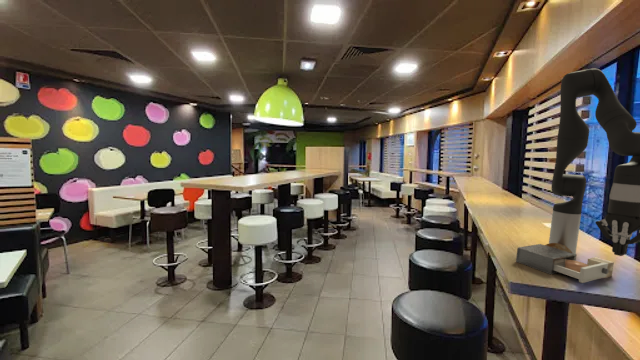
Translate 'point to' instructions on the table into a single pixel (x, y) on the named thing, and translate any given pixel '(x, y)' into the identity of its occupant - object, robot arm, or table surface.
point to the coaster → (574, 265)
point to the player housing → (542, 257)
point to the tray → (582, 271)
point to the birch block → (598, 260)
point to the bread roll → (559, 247)
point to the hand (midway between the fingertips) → (618, 255)
